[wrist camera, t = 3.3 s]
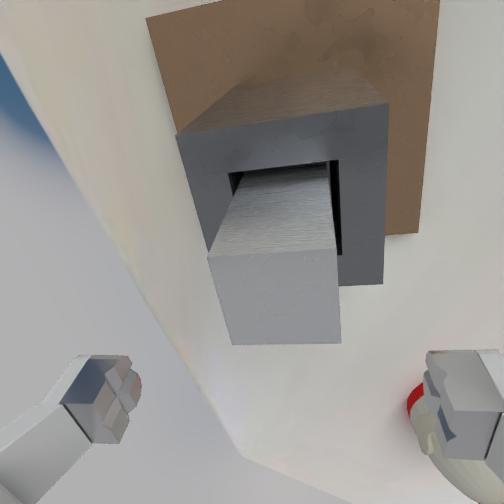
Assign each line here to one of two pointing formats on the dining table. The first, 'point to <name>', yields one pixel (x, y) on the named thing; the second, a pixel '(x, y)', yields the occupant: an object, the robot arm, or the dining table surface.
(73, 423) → the robot arm
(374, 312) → the dining table surface
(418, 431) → the kitchen timer
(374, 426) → the dining table surface
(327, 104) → the post sleeve
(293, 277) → the steel post
